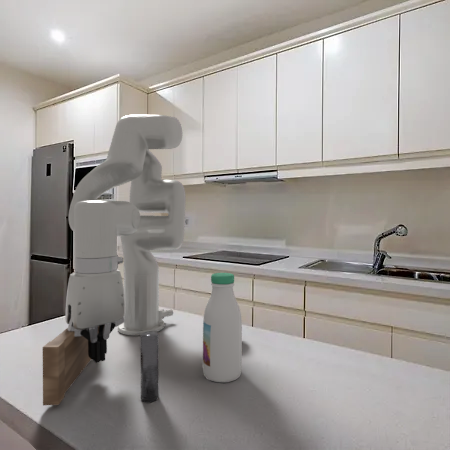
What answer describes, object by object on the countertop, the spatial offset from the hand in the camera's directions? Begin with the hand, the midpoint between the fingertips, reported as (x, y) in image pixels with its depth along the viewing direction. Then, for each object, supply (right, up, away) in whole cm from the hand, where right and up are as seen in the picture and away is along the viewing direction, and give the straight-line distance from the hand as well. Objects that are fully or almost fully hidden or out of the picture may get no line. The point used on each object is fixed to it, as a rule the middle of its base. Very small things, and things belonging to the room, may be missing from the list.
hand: (97, 359), depth 63 cm
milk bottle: (+24, -4, +2) cm, 24 cm away
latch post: (+12, -4, -7) cm, 14 cm away
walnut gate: (-4, -3, -1) cm, 5 cm away
